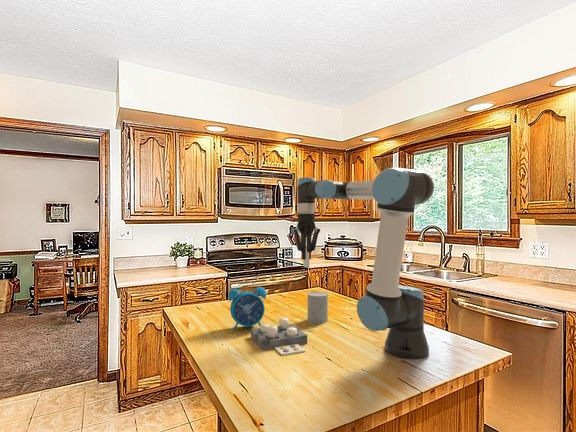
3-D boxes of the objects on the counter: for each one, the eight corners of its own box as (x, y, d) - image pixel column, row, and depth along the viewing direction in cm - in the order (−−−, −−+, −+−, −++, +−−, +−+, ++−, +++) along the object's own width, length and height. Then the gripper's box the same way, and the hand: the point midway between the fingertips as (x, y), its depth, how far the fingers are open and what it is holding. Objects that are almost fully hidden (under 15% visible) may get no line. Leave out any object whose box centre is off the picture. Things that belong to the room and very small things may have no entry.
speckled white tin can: (327, 317, 168) (327, 291, 168) (328, 323, 159) (328, 296, 159) (307, 317, 169) (307, 291, 169) (306, 323, 160) (306, 296, 160)
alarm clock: (229, 333, 146) (229, 285, 146) (227, 325, 156) (227, 280, 156) (269, 330, 150) (268, 283, 150) (264, 322, 160) (264, 279, 160)
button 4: (298, 338, 135) (298, 329, 135) (288, 340, 134) (288, 331, 134) (294, 335, 139) (294, 326, 139) (285, 337, 137) (284, 328, 137)
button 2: (279, 337, 132) (279, 328, 132) (269, 338, 131) (268, 329, 131) (275, 334, 136) (275, 325, 136) (265, 335, 134) (265, 326, 134)
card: (304, 351, 126) (304, 349, 126) (281, 355, 123) (281, 353, 123) (297, 345, 133) (297, 342, 133) (274, 348, 129) (274, 346, 129)
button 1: (271, 335, 139) (271, 326, 139) (262, 336, 138) (262, 327, 138) (268, 332, 143) (268, 323, 143) (259, 333, 142) (259, 324, 142)
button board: (307, 343, 135) (307, 335, 135) (262, 350, 128) (262, 341, 128) (292, 331, 149) (292, 324, 149) (250, 336, 142) (250, 329, 142)
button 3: (290, 328, 143) (290, 319, 142) (281, 329, 141) (281, 320, 141) (286, 325, 146) (286, 317, 146) (277, 326, 145) (277, 318, 145)
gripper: (315, 213, 160) (315, 265, 160) (289, 213, 155) (289, 266, 155) (323, 213, 153) (323, 267, 153) (296, 213, 148) (296, 269, 148)
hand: (306, 266), depth 154 cm, fingers closed
